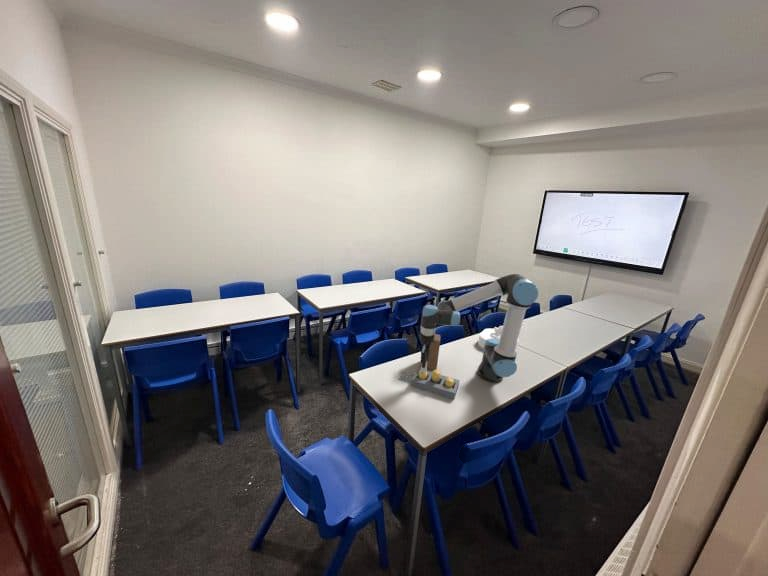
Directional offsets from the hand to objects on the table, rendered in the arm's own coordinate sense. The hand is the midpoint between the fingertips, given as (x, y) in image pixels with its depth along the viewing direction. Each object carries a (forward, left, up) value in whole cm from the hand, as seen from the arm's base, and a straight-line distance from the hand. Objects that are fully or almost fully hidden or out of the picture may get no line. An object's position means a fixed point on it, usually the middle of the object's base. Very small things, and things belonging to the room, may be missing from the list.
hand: (423, 371), depth 167 cm
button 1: (-15, 0, -6) cm, 16 cm away
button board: (-7, 0, -7) cm, 10 cm away
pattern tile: (+9, 0, -7) cm, 12 cm away
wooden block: (+2, -19, -7) cm, 21 cm away
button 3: (0, 0, -6) cm, 6 cm away
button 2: (-7, 0, -3) cm, 8 cm away
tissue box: (-36, -71, -8) cm, 80 cm away
